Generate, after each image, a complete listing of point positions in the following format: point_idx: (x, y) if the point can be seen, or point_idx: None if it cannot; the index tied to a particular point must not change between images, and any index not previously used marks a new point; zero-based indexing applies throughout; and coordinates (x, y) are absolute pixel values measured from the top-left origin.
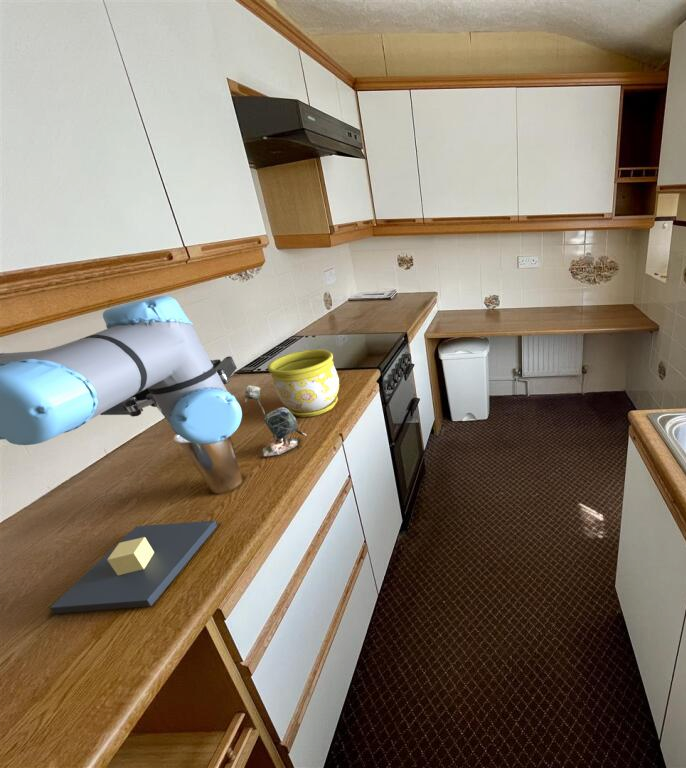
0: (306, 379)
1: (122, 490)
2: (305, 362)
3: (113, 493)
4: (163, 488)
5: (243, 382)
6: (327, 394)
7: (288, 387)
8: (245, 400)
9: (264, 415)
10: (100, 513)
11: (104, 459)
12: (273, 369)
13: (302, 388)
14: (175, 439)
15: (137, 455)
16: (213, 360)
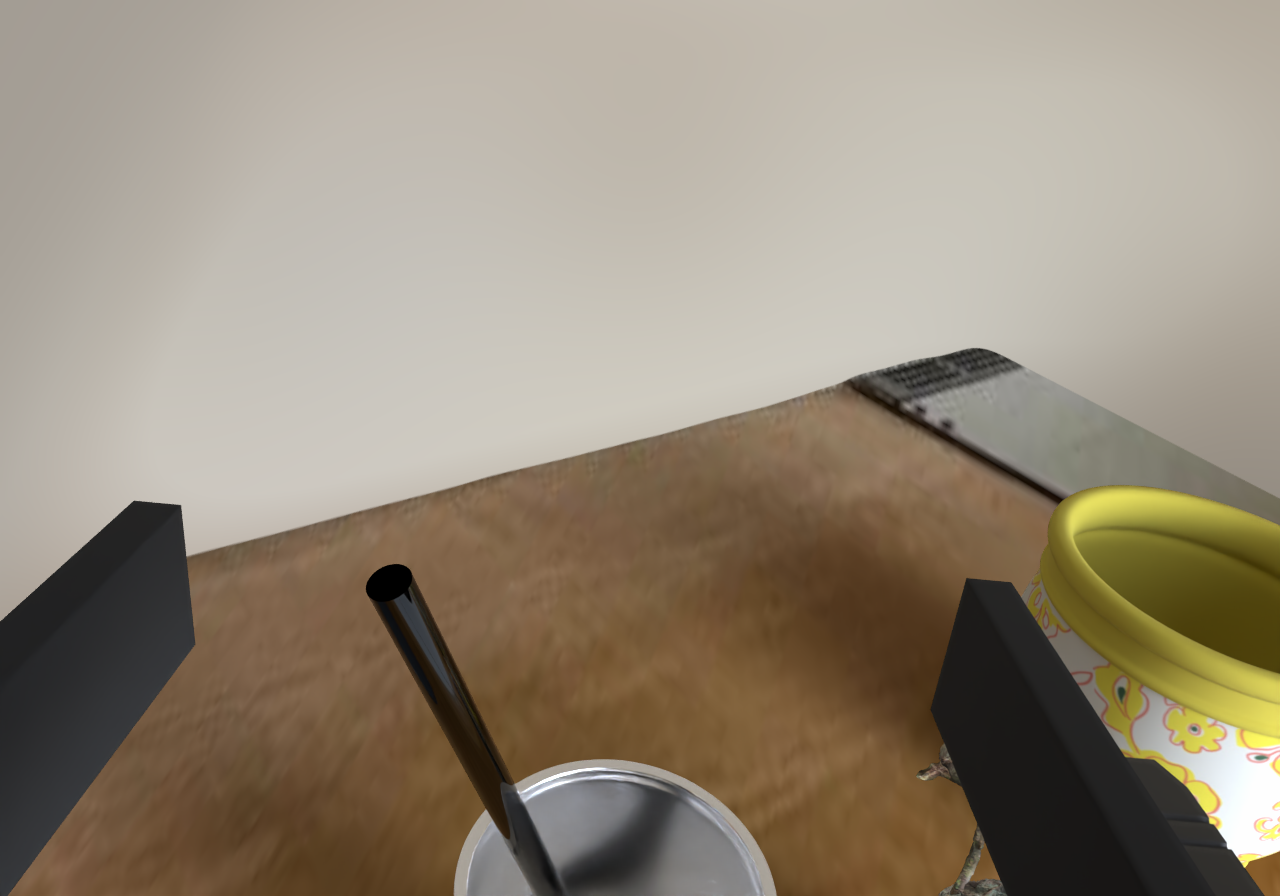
0: (1235, 729)
1: (289, 731)
2: (1197, 560)
3: (262, 723)
4: (375, 861)
5: (858, 437)
6: (1267, 845)
7: (1103, 698)
8: (925, 774)
9: (954, 889)
10: (150, 819)
11: (374, 514)
12: (1085, 562)
13: (1175, 755)
14: (463, 864)
15: (443, 566)
16: (1142, 774)
